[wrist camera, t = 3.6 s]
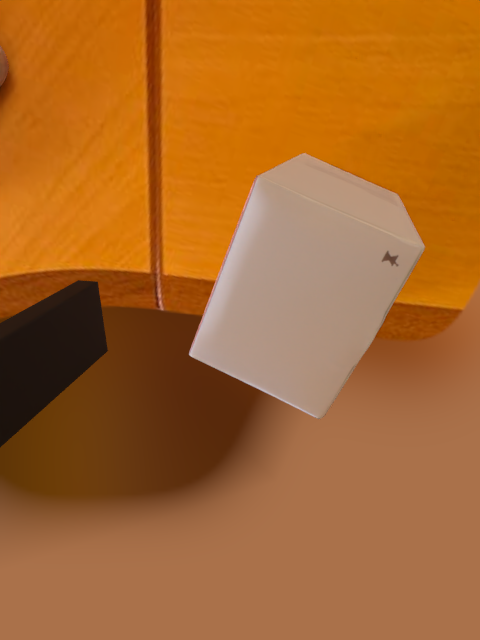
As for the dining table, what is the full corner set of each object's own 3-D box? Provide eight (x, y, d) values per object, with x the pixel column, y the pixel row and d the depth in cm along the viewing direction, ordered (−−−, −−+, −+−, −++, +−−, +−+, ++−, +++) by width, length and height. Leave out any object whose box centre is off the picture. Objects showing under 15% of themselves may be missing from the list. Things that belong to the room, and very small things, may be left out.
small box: (302, 150, 27) (256, 168, 15) (401, 193, 26) (433, 245, 15) (252, 270, 30) (184, 358, 19) (338, 309, 30) (325, 425, 18)
